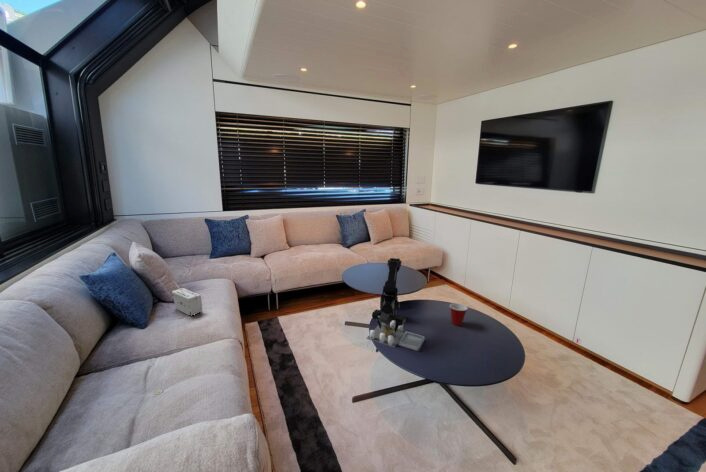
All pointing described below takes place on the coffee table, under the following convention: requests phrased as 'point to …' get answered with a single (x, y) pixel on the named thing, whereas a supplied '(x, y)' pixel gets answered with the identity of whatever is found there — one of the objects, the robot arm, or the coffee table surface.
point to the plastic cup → (457, 313)
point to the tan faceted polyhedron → (387, 331)
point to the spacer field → (391, 339)
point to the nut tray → (411, 341)
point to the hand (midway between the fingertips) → (387, 330)
